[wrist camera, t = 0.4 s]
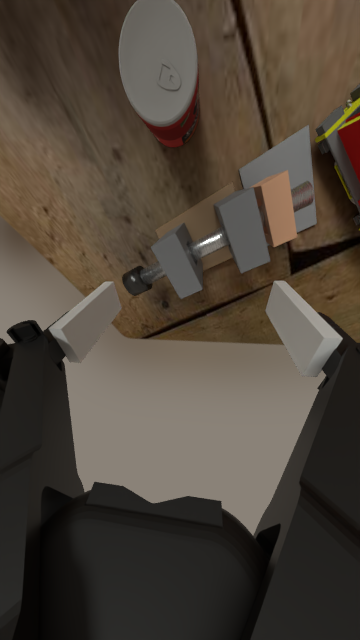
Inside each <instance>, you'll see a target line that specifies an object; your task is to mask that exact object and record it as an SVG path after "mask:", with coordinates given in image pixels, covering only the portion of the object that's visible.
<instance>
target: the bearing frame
mask: <svg viewBox="0 0 360 640" xmlns="http://www.w3.org/2000/svg"><path fill="white" fill-rule="evenodd" d="M222 226H224V229H225V232H226V235H227V238H228V241H229V244H230V245H228V246H226V247H224V248H222V249H220V250H218V251H216V252H214V253H212V254H210V255H208V256H206V257H204V258H202V259H200V260H197V261H195V262H194V260H193V258H192V256H191V254H190V252H189V249H188V247H187V245H189V244H191V243H193V242H194V241H196V240H198V239H200V238H202V237H204V236H205V235H207V234H209V233H211V232H213V231H215V230H217V229H218V228H220V227H222ZM155 232H156V234H157V236H158V237H159V240H158V241H157V242H156V243H155V244H154V245H153V246H152V247H151V249H152V251H153V252H154V254H155V256H156V258H157V259H158V261H159V263H160V265H161V266H162V268H163V270H164V271H165V273H166V275H167V277H168V278H169V280H170V282H171V284H172V285H173V287H174V289H175V290H176V292H177V294H178V296H179V297H180V299H182V298H184V297H186V296H189V295H191V294H194V293H196V292H198V291H201V290H203V271H205V270H207V269H209V268H211V267H213V266H215V265H218V264H220V263H222V262H224V261H226V260H228V259H230V258H233V259H234V261H235V263H236V265H237V267H238V269H239V270H240V272H241V273H243V272H246V271H248V270H251V269H253V268H255V267H258V266H260V265H262V264H265V263H267V262H270V256H269V252H268V248H267V244H266V239H265V235H264V231H263V226H262V222H261V218H260V213H259V209H258V205H257V200H256V196H255V192H254V188H253V187H251V188H247V189H243V190H239V191H235V189H234V185H233V182H231V183H230V184H228V185H226V186H225V187H223V188H222V189H220V190H218V191H217V192H215V193H214V194H212V195H210V196H209V197H207V198H206V199H204V200H202V201H201V202H199V203H198V204H196V205H194V206H193V207H191V208H190V209H188V210H186V211H185V212H183V213H182V214H180V215H178V216H177V217H175V218H174V219H172V220H170V221H169V222H167V223H166V224H164V225H162V226H161V227H159V228H158V229H156V230H155Z"/></svg>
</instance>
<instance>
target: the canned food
mask: <svg viewBox="0 0 360 640" xmlns="http://www.w3.org/2000/svg"><path fill="white" fill-rule="evenodd" d="M118 55H119V69H120V74H121V80H122V83H123V86H124V89H125V92H126V94H127V97H128V99H129V101H130V103H131V105H132V106H133V108H134V110H135V111H136V113H137V114H138V115H139V117H140V118H141V119H142V121H143V122H144V123H145V124H146V126H147V127H148V128H149V129H150V131H151V132H152V133H153V135H154V136H155V137H156V138H157V139H158V140H159V141H160V142H161V143H162V144H164V145H166V146H168V147H179V146H181V145H183V144H185V143H186V142H187V141H188V140H189V139H190V138H191V136H192V135H193V133H194V131H195V129H196V126H197V123H198V119H199V76H198V56H197V49H196V43H195V39H194V35H193V32H192V28H191V26H190V23H189V21H188V19H187V17H186V15H185V13H184V12H183V10H182V9H181V7H180V6H179V5H178V4H177V3H176V2H175V1H174V0H137V1H136V2H135V3H134V4H133V6H132V7H131V8H130V10H129V12H128V14H127V15H126V17H125V20H124V23H123V26H122V29H121V34H120V40H119V54H118Z"/></svg>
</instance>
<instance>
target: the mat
mask: <svg viewBox="0 0 360 640" xmlns="http://www.w3.org/2000/svg"><path fill="white" fill-rule="evenodd" d="M286 170H288V174H289V182H290V189H292V188H294V187H296V186H298V185H300V184H301V183H303V182H305V181H309V182H310V183H311V184H312V187H313V190H314V184H313V172H312V159H311V147H310V134H309V125H307V126H306V127H304V128H303V129H301V130H300V131H298V132H297V133H295V134H293V135H292V136H290V137H289V138H287V139H286V140H284V141H283V142H281V143H279V144H278V145H276V146H275V147H273V148H272V149H270V150H269V151H267V152H265V153H264V154H262V155H261V156H259V157H258V158H256V159H255V160H253V161H251V162H250V163H248V164H247V165H245V166H244V167H242V168H241V169H239V174H240V178H241V181H242V185H243V189H247V188H250V187H251V186H253V185H255V184H257V183H258V182H260V181H262V180H263V179H265V178H267V177H269V176H272V175H275V174H278V173H281V172H284V171H286ZM294 217H295V225H296V232H299V231H302V230H304V229H306V228H308V227H310V226H313V225H315V224H317V222H316V209H315V197H314V199H313V202H312V204H311V205H309V206H307V207H305V208H303V209H301V210H299V211H297V212H295V213H294ZM266 244H267V246H269V245H270V244H269V243H267V242H266Z"/></svg>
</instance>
